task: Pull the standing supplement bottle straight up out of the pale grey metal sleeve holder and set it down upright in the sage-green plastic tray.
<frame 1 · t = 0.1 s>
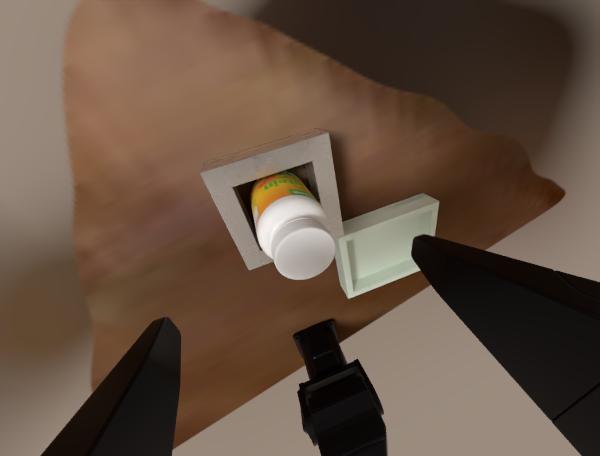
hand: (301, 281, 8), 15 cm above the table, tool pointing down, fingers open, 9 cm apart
sleeve holder: (277, 196, 22), on the table
tray: (378, 242, 29), on the table
supplement bottle: (277, 195, 22), resting in sleeve holder
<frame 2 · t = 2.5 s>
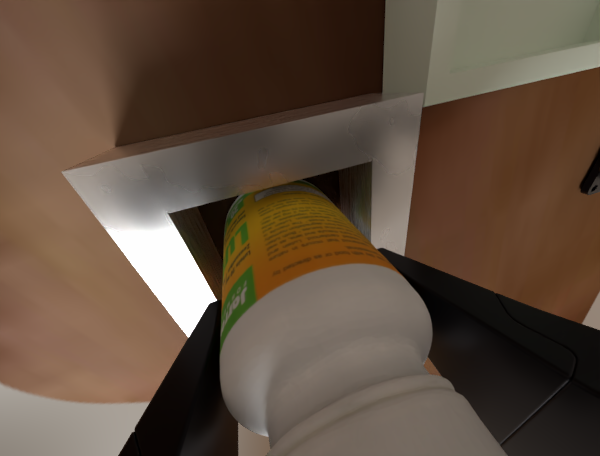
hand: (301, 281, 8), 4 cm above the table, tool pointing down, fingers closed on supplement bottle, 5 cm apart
sleeve holder: (280, 226, 11), on the table
supplement bottle: (279, 224, 11), resting in sleeve holder, touching gripper
when the fingers open (6 cm above the table, at t = 8.0 s): supplement bottle drops 2 cm, resting on tray.
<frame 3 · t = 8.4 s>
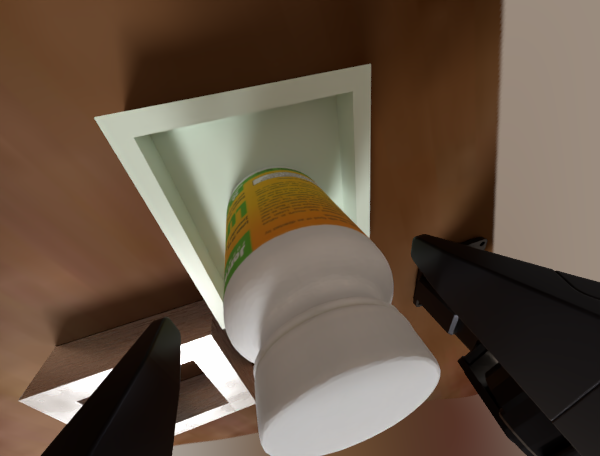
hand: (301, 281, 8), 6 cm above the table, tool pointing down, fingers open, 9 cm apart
sleeve holder: (173, 358, 18), on the table
tray: (271, 206, 13), on the table
supplement bottle: (275, 210, 13), point 1 cm above the table, touching tray
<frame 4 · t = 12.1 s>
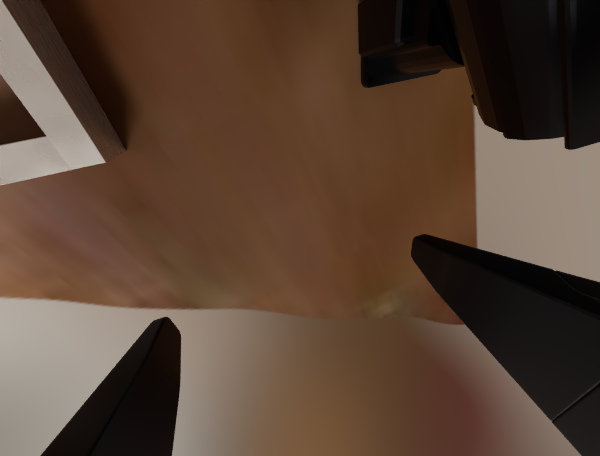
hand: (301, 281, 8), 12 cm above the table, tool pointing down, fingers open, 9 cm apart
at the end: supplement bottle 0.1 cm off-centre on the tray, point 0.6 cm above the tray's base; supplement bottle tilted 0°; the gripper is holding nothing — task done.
